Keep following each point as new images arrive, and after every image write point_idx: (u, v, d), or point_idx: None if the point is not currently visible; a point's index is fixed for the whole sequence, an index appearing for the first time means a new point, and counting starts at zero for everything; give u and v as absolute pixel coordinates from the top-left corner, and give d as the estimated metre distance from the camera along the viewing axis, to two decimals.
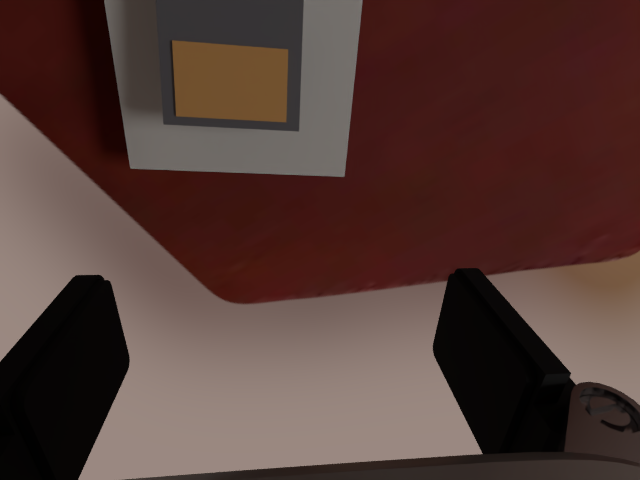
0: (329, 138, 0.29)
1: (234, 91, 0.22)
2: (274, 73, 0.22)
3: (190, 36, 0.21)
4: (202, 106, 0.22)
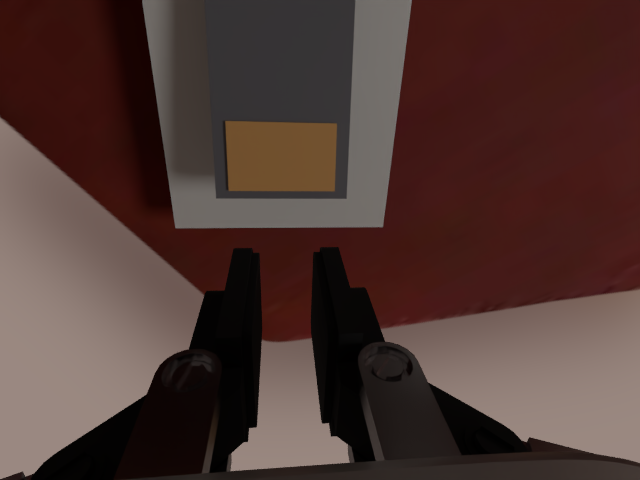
0: (368, 192, 0.29)
1: (284, 165, 0.23)
2: (323, 146, 0.23)
3: (242, 115, 0.22)
4: (254, 180, 0.23)
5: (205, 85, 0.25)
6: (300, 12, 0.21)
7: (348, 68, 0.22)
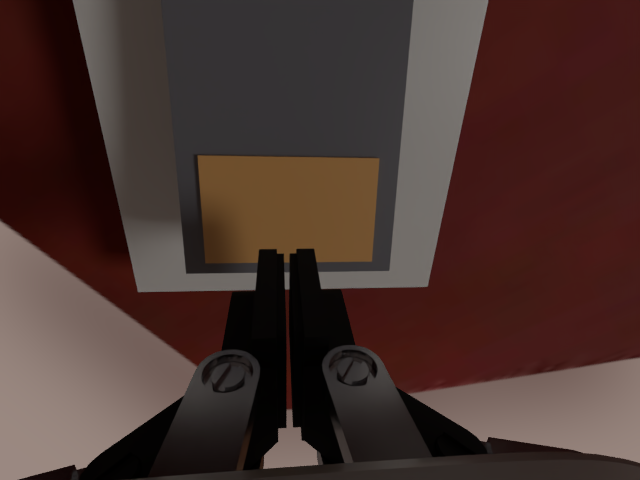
0: (410, 242, 0.21)
1: (294, 224, 0.14)
2: (356, 194, 0.14)
3: (225, 146, 0.13)
4: (245, 247, 0.14)
5: None
6: None
7: (401, 69, 0.13)
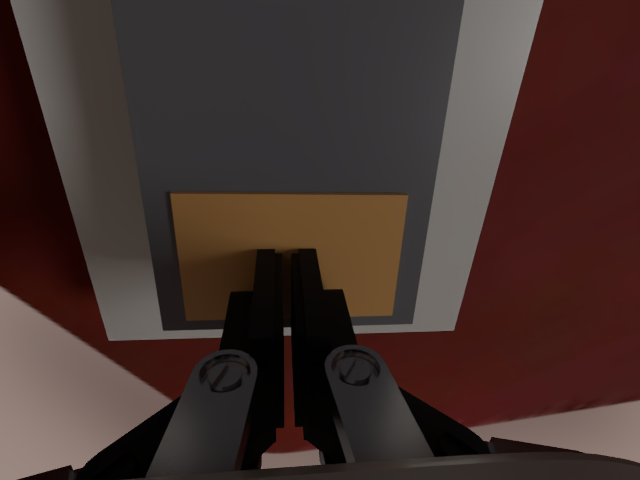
0: (436, 280, 0.17)
1: None
2: (377, 239, 0.11)
3: (206, 181, 0.10)
4: None
5: None
6: None
7: (443, 78, 0.10)
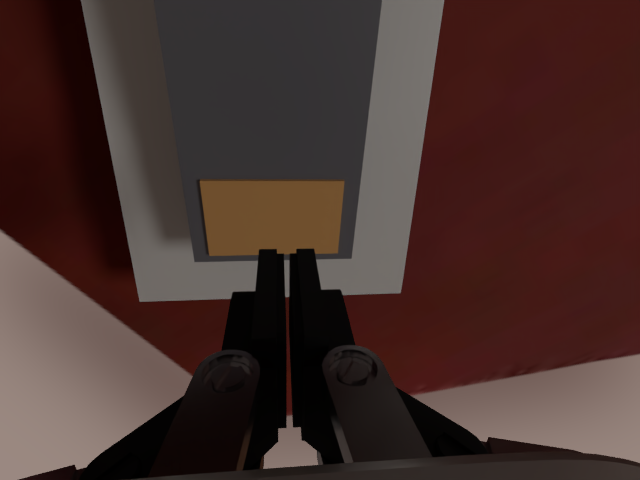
0: (383, 252, 0.23)
1: (277, 228, 0.18)
2: (326, 207, 0.18)
3: (221, 173, 0.17)
4: (239, 244, 0.19)
5: None
6: (299, 37, 0.14)
7: (363, 113, 0.16)
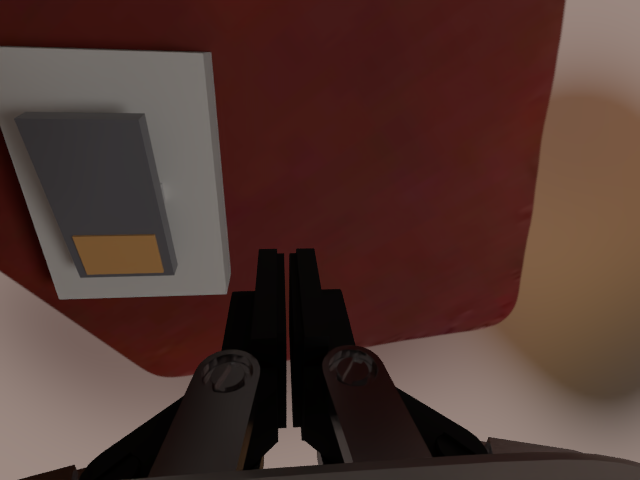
0: (208, 269, 0.37)
1: (122, 259, 0.33)
2: (148, 248, 0.32)
3: (84, 232, 0.31)
4: (103, 268, 0.33)
5: None
6: (108, 170, 0.28)
7: (154, 202, 0.30)
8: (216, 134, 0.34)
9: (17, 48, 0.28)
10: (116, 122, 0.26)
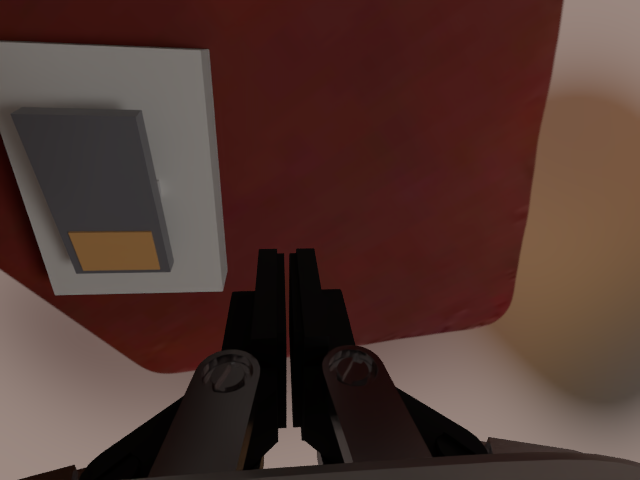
0: (205, 266, 0.37)
1: (119, 256, 0.33)
2: (144, 245, 0.32)
3: (80, 228, 0.31)
4: (99, 264, 0.33)
5: None
6: (105, 167, 0.28)
7: (151, 199, 0.30)
8: (213, 131, 0.34)
9: (14, 43, 0.28)
10: (113, 119, 0.26)
